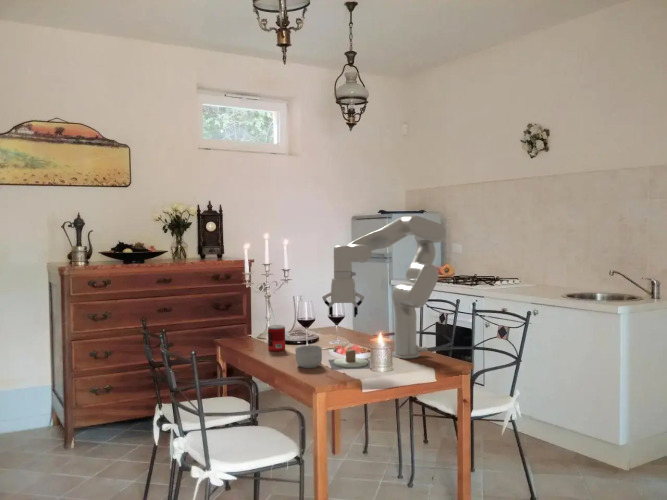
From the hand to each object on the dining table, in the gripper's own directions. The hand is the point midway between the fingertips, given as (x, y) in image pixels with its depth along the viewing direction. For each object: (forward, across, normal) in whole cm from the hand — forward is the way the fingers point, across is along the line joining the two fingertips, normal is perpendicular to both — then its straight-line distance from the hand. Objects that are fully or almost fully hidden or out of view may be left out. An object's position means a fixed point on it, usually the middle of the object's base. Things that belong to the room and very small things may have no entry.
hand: (343, 316), depth 244 cm
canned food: (+20, +31, -27) cm, 46 cm away
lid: (+19, -3, +2) cm, 20 cm away
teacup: (+20, +14, +4) cm, 25 cm away
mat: (+20, -3, +2) cm, 20 cm away
